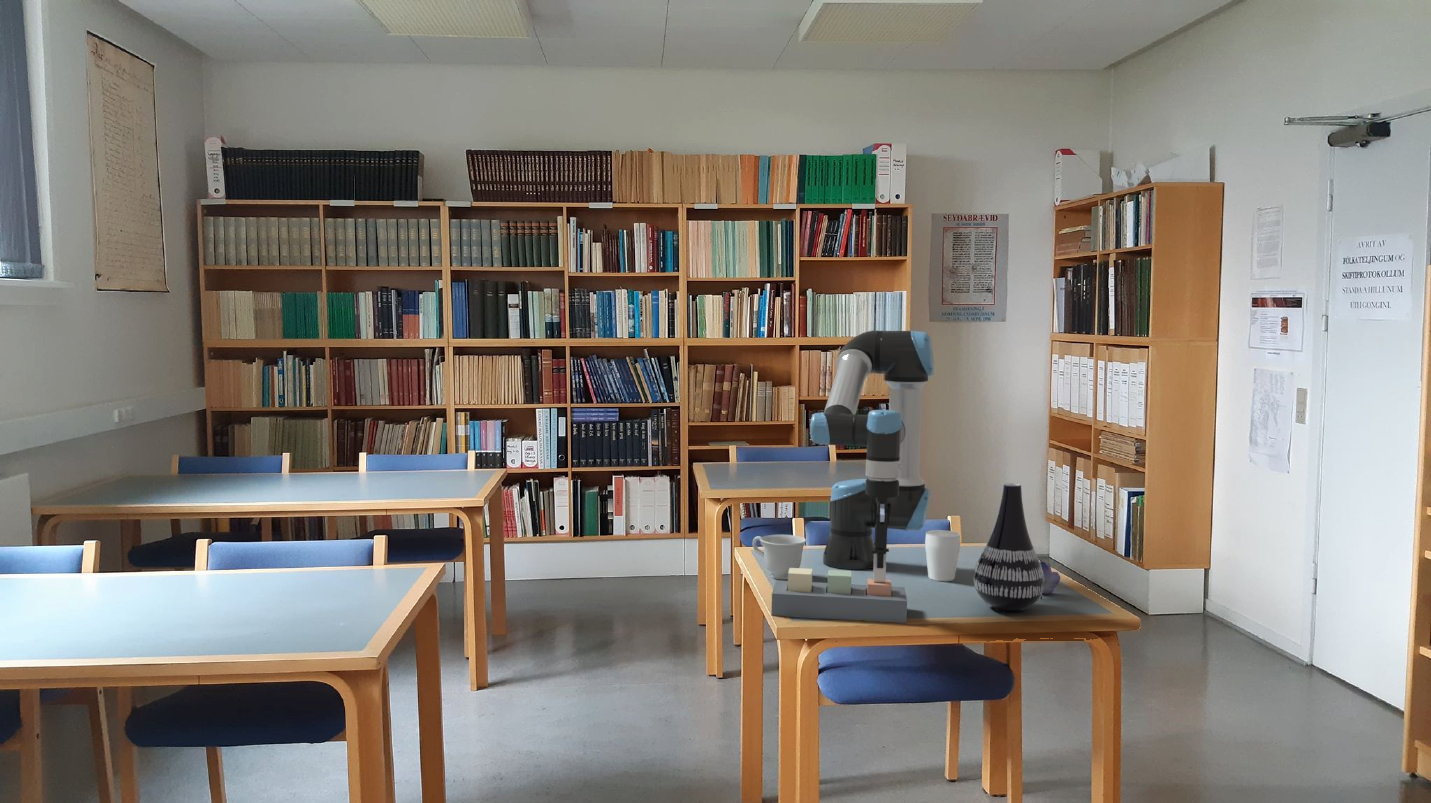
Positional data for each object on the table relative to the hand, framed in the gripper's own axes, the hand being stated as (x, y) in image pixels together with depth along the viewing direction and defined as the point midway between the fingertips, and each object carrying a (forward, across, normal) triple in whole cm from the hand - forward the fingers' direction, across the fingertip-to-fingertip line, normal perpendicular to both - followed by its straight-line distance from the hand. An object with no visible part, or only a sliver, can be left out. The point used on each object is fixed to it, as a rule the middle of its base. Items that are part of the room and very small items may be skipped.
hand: (879, 581), depth 224 cm
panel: (+8, 0, +9) cm, 12 cm away
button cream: (+5, 0, +18) cm, 19 cm away
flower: (+8, +26, -41) cm, 49 cm away
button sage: (+5, 0, +9) cm, 10 cm away
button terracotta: (+7, 0, 0) cm, 7 cm away
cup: (+8, +37, -17) cm, 41 cm away
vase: (+8, +11, -30) cm, 33 cm away
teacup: (+8, +30, +25) cm, 40 cm away
